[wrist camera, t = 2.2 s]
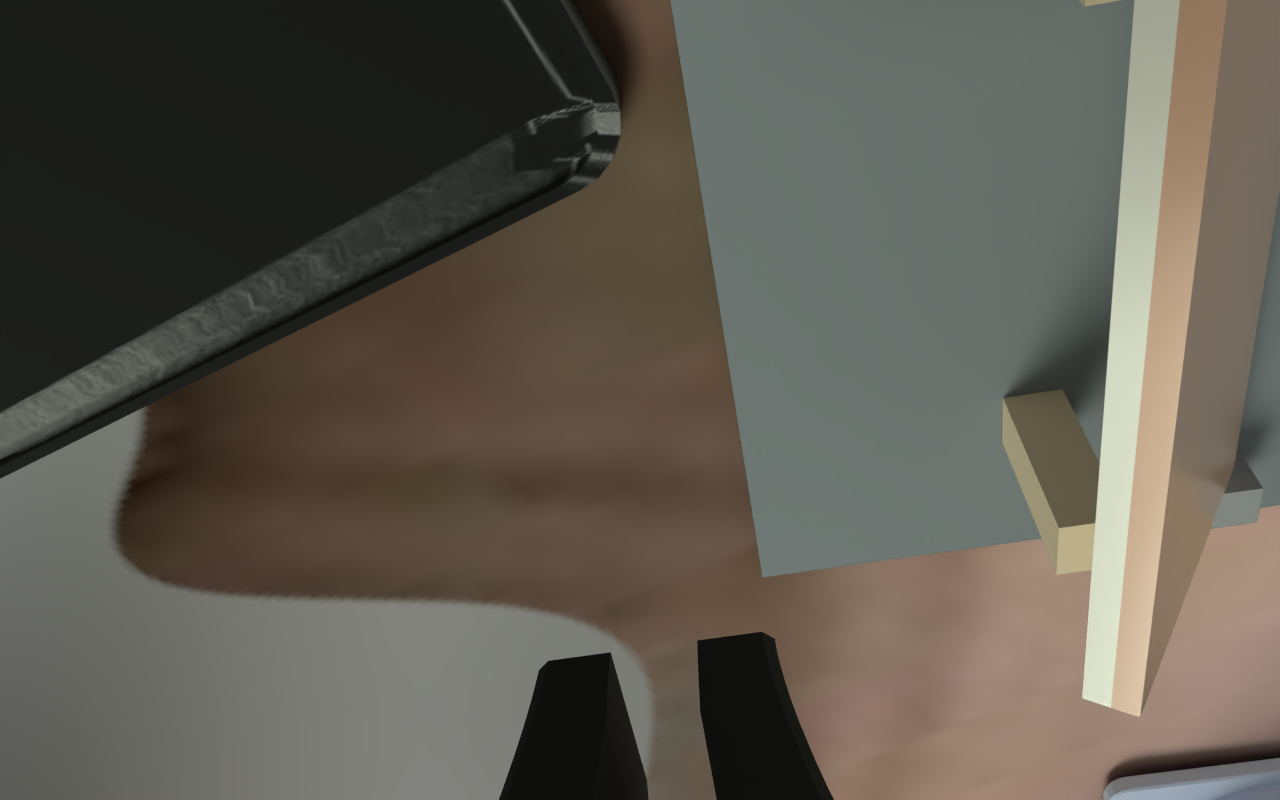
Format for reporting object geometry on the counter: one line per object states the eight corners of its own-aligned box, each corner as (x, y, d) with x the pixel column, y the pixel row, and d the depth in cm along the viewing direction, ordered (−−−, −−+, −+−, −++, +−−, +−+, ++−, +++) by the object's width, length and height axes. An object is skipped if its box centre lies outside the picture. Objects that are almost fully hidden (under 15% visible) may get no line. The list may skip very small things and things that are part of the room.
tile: (1192, 437, 22) (1241, 448, 21) (1081, 702, 18) (1139, 722, 17) (1286, -267, 15) (1361, -272, 14) (1139, -87, 11) (1237, -86, 11)
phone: (650, 155, 18) (-97, 528, 22) (647, 122, 19) (-70, 485, 23) (317, -419, 13) (-538, 175, 17) (335, -427, 14) (-483, 140, 18)
